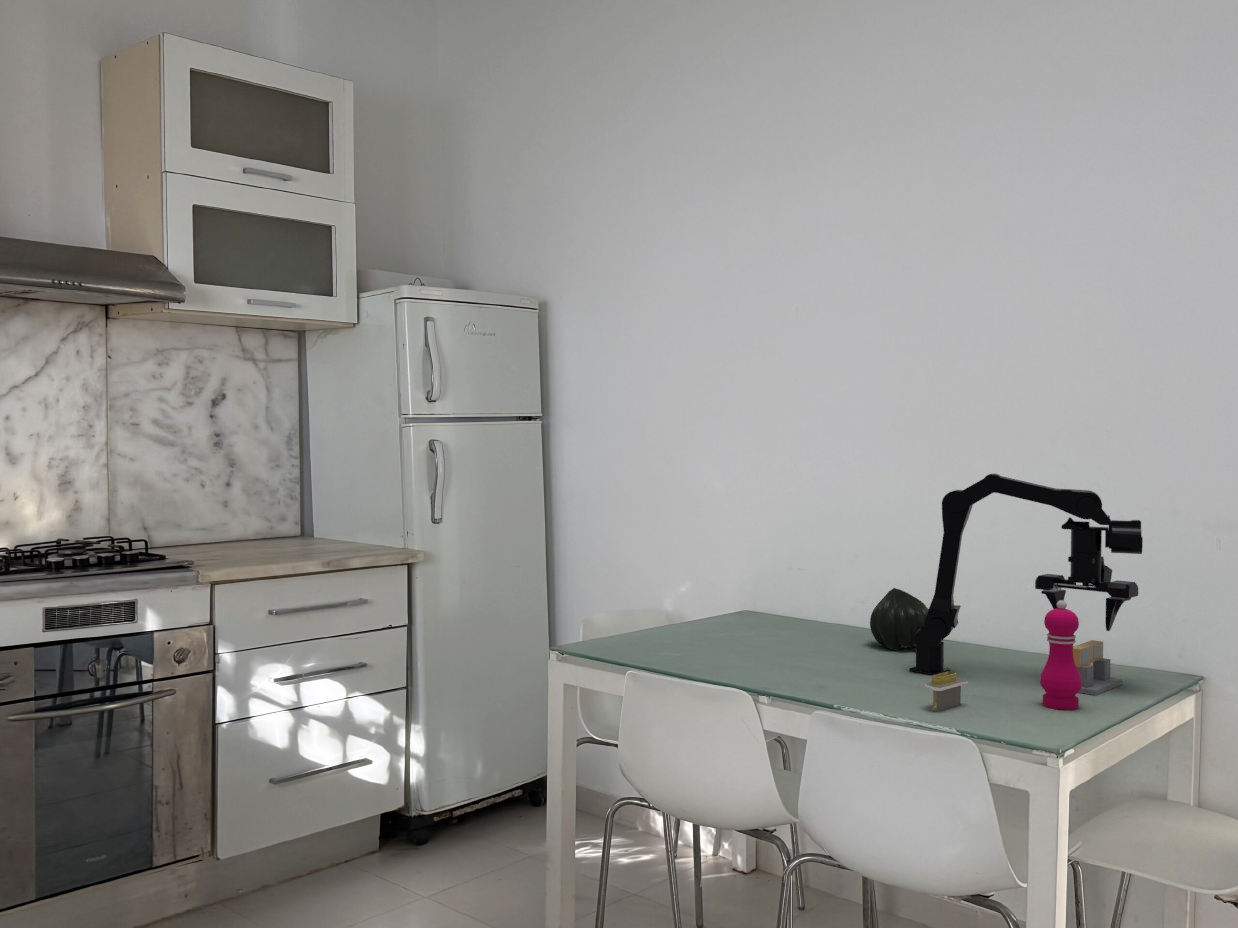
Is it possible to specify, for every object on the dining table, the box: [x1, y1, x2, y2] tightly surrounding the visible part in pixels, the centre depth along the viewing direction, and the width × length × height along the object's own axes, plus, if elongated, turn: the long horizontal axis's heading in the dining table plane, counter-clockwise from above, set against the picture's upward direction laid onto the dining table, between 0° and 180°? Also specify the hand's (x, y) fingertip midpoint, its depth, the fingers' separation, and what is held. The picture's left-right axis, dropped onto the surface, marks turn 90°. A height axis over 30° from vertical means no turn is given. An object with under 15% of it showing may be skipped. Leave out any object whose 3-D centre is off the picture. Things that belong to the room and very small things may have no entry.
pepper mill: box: [1039, 600, 1082, 711], centre depth 193 cm, size 7×7×20 cm
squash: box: [869, 587, 929, 651], centre depth 249 cm, size 14×15×15 cm
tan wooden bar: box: [1073, 639, 1104, 667], centre depth 209 cm, size 12×2×4 cm, turn 134°
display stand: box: [1076, 657, 1123, 696], centre depth 209 cm, size 14×9×5 cm, turn 134°
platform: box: [924, 671, 968, 712], centre depth 192 cm, size 12×18×7 cm, turn 130°
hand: (1085, 627), depth 210 cm, fingers open, 9 cm apart
